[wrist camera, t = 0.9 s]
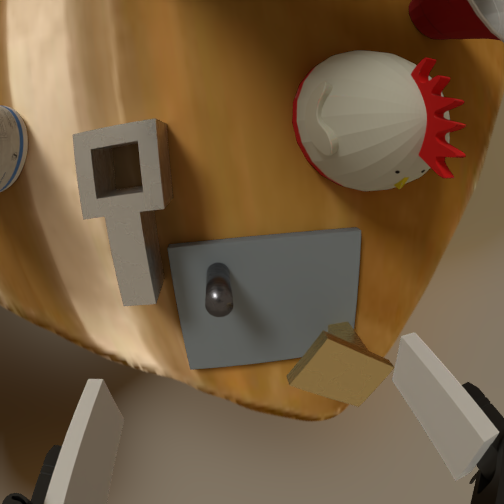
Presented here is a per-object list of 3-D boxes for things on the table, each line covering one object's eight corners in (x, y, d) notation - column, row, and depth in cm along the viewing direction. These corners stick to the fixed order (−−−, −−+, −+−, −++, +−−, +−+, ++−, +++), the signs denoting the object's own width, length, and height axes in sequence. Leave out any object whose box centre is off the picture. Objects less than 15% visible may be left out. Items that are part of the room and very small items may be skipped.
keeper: (298, 286, 32) (327, 338, 23) (360, 319, 34) (398, 369, 25) (271, 326, 33) (289, 385, 24) (334, 353, 35) (363, 408, 27)
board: (169, 244, 30) (167, 248, 29) (356, 227, 32) (361, 230, 31) (190, 363, 35) (190, 369, 34) (348, 342, 37) (351, 348, 35)
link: (96, 135, 26) (72, 134, 21) (166, 123, 26) (155, 118, 21) (119, 282, 31) (103, 307, 26) (183, 276, 31) (178, 302, 26)
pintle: (205, 263, 30) (203, 293, 24) (228, 261, 30) (232, 291, 24) (208, 284, 31) (207, 318, 25) (230, 282, 31) (234, 315, 25)
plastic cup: (467, 67, 27) (538, 57, 15) (399, 51, 26) (472, 25, 15) (451, -6, 23) (511, -30, 12) (382, -27, 22) (439, -70, 11)
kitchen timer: (298, 193, 30) (368, 237, 16) (284, 55, 26) (342, -12, 11) (417, 184, 31) (519, 216, 17) (407, 62, 26) (507, 36, 12)
